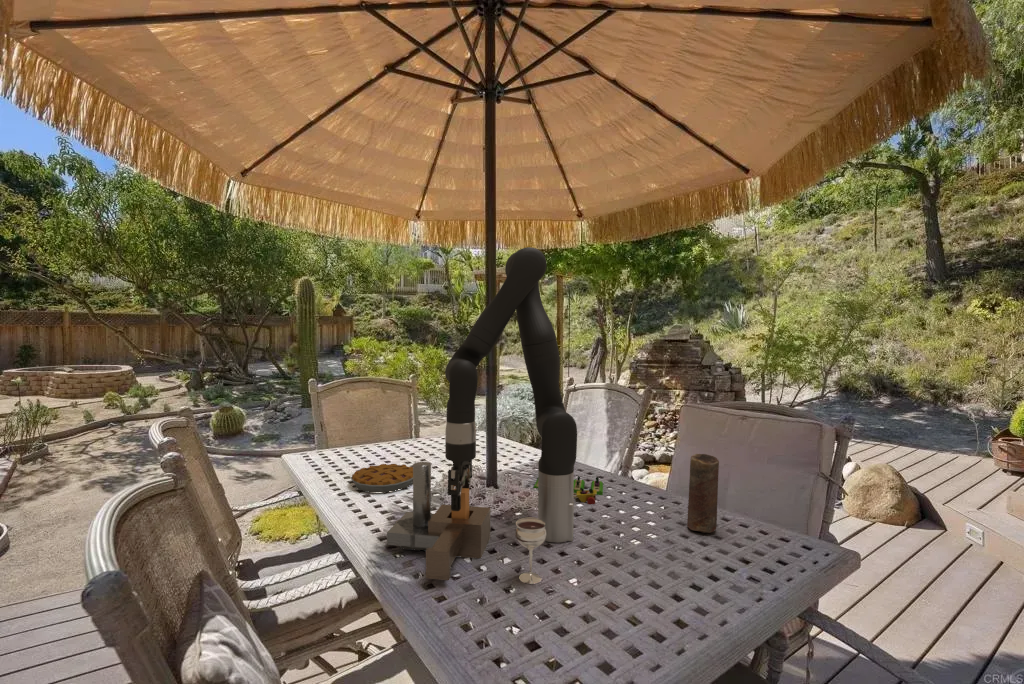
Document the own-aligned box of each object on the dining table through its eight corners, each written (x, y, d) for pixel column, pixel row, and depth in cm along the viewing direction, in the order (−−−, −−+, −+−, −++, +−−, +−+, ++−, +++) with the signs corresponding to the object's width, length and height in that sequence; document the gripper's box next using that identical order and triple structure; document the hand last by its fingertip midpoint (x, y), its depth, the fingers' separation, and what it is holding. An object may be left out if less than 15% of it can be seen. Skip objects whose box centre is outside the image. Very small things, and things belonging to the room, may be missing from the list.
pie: (430, 481, 169) (430, 467, 169) (382, 500, 150) (382, 484, 150) (386, 471, 180) (386, 457, 180) (337, 487, 162) (337, 472, 162)
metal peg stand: (456, 532, 126) (456, 458, 126) (440, 558, 112) (440, 474, 112) (405, 529, 129) (405, 455, 128) (383, 553, 115) (383, 471, 114)
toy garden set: (603, 486, 165) (603, 473, 165) (602, 507, 147) (602, 492, 147) (537, 481, 170) (537, 469, 170) (528, 501, 151) (528, 486, 151)
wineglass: (536, 589, 100) (537, 532, 99) (509, 580, 103) (509, 525, 103) (551, 575, 105) (552, 521, 105) (525, 566, 109) (525, 514, 108)
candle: (717, 527, 131) (719, 455, 130) (717, 538, 124) (718, 462, 124) (688, 522, 134) (689, 452, 133) (685, 532, 127) (687, 458, 127)
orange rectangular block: (469, 543, 120) (469, 488, 120) (465, 549, 117) (465, 493, 117) (455, 542, 121) (456, 487, 121) (451, 548, 118) (451, 492, 117)
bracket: (490, 538, 123) (490, 507, 123) (467, 589, 100) (467, 551, 99) (441, 534, 125) (441, 504, 125) (407, 583, 102) (407, 546, 101)
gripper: (468, 447, 110) (468, 516, 111) (481, 433, 125) (481, 494, 125) (437, 445, 112) (437, 514, 112) (453, 432, 126) (453, 493, 126)
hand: (460, 503), depth 119 cm, fingers open, 8 cm apart
